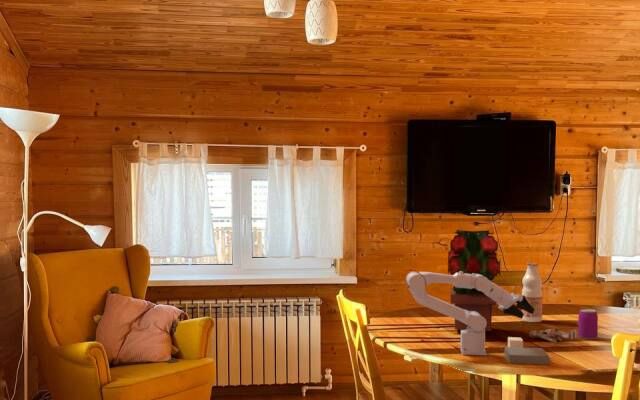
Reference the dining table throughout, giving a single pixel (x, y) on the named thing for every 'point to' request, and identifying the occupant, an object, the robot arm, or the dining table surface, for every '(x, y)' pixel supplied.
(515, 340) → the cube
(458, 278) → the robot arm
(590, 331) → the beverage can
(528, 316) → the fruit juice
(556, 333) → the figurine
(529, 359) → the plinth
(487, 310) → the potted plant
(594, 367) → the dining table surface
